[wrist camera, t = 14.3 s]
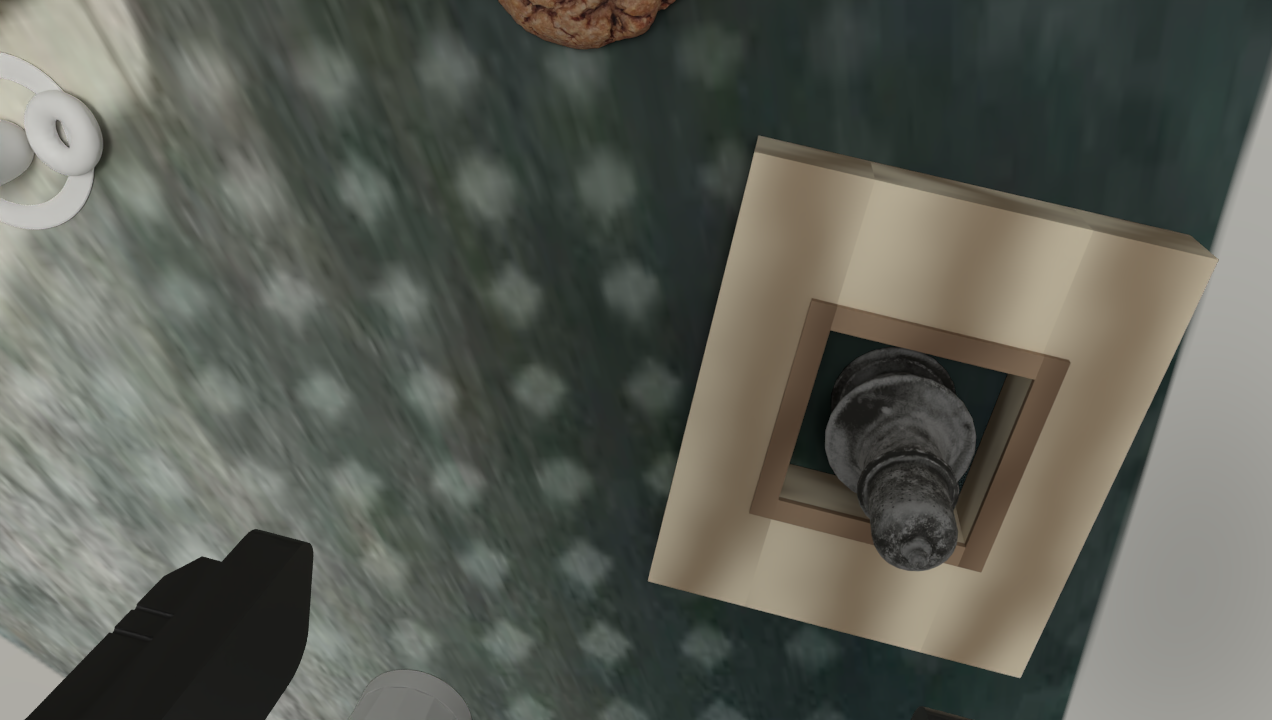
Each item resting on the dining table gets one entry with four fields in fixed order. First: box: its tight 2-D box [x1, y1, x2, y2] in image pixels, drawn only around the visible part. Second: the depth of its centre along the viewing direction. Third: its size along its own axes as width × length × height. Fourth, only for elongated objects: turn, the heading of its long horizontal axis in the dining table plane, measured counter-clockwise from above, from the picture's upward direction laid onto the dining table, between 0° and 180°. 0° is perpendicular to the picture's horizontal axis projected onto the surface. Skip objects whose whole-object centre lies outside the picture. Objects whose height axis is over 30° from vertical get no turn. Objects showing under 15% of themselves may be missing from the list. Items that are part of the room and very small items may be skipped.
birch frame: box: [648, 135, 1219, 678], centre depth 42 cm, size 17×20×3 cm
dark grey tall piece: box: [825, 347, 976, 571], centre depth 38 cm, size 6×6×12 cm
